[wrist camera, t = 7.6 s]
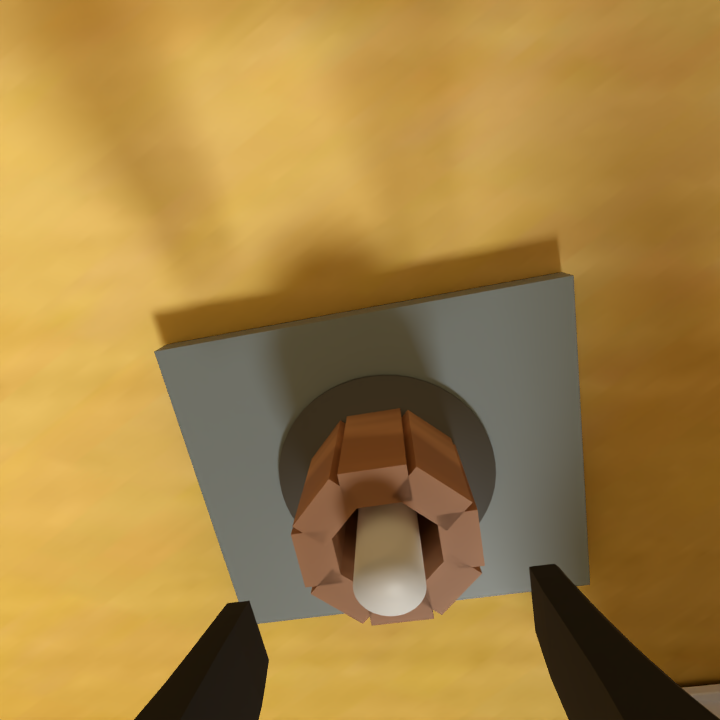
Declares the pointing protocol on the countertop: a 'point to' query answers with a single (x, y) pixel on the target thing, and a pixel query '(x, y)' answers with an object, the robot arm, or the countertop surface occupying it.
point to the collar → (379, 487)
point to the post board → (408, 392)
